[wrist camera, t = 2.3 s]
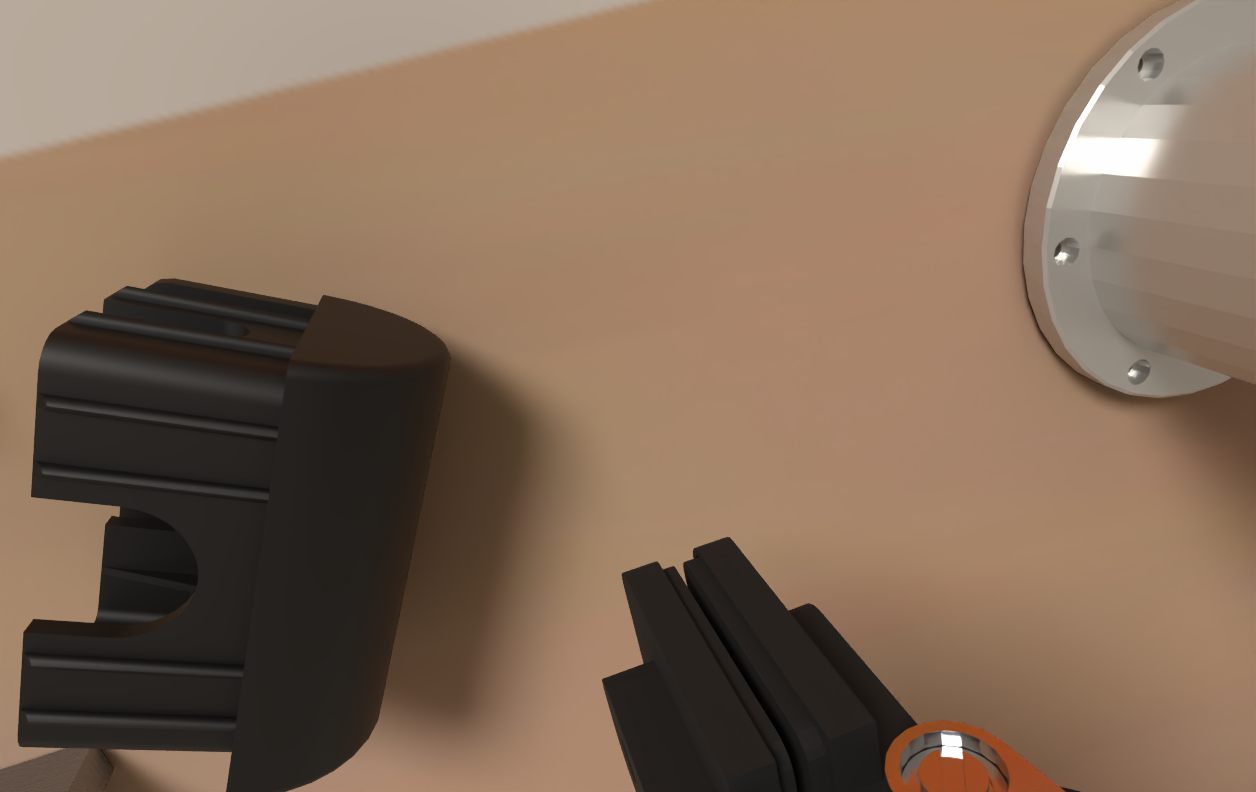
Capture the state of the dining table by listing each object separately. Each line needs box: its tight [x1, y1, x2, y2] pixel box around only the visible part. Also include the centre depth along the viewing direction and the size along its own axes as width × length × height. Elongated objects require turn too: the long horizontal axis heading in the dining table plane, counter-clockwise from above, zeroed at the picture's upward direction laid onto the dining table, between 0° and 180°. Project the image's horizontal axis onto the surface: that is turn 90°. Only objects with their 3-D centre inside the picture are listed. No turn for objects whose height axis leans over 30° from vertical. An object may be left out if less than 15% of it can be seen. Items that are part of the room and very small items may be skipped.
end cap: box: [18, 279, 451, 792], centre depth 19 cm, size 10×7×7 cm
